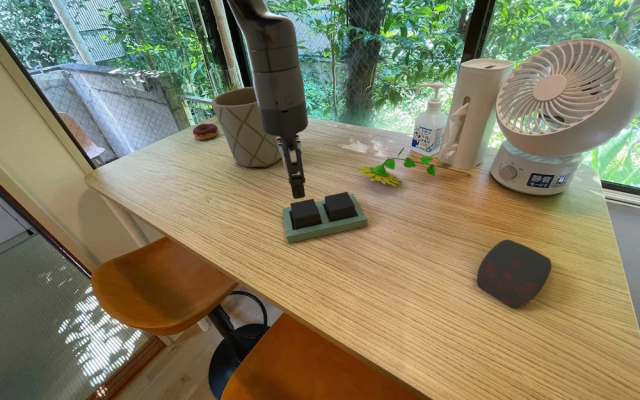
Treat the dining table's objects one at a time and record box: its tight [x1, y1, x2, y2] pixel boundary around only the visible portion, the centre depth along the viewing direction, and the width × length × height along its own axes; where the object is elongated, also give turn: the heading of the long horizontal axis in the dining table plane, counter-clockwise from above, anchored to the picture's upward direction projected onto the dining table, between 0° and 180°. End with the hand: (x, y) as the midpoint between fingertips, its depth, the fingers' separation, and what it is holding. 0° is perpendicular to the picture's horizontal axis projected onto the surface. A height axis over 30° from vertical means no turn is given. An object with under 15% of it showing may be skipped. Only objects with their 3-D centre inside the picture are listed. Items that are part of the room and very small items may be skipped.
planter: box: [211, 86, 282, 169], centre depth 79 cm, size 19×19×20 cm
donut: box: [192, 123, 220, 141], centre depth 103 cm, size 10×10×4 cm
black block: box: [289, 198, 321, 230], centre depth 56 cm, size 5×5×4 cm
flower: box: [355, 147, 471, 188], centre depth 66 cm, size 12×9×30 cm
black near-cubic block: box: [324, 191, 355, 222], centre depth 57 cm, size 5×5×4 cm
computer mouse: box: [476, 239, 552, 309], centre depth 42 cm, size 8×14×4 cm, turn 130°
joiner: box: [281, 193, 368, 244], centre depth 57 cm, size 10×18×2 cm, turn 103°
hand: (296, 184), depth 49 cm, fingers open, 8 cm apart
